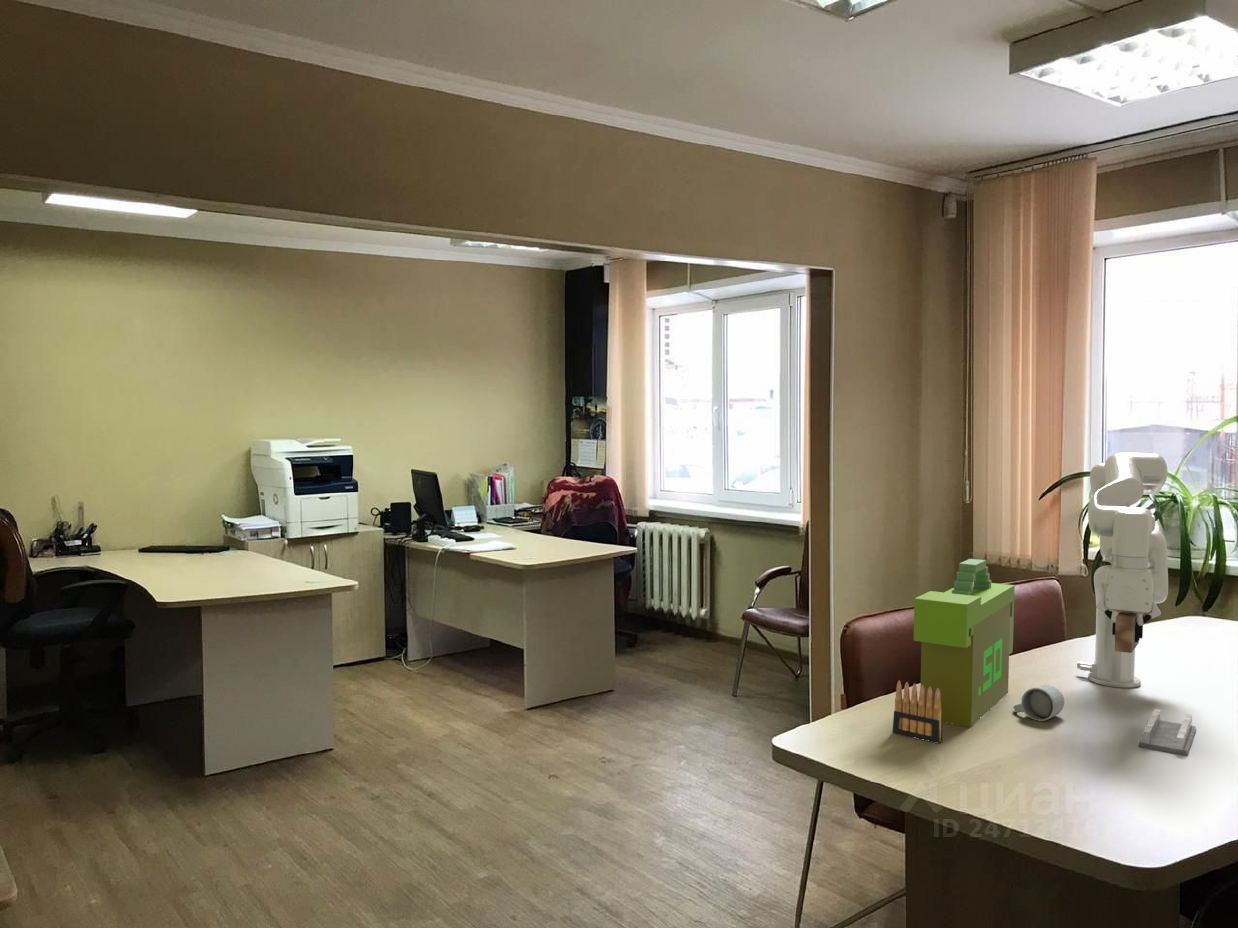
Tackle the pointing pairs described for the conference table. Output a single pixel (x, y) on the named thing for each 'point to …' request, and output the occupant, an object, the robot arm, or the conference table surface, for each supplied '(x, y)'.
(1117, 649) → the door panel
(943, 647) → the ammo box
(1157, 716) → the floor track
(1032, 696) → the ceramic mug
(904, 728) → the ammunition clip
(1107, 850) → the conference table surface
